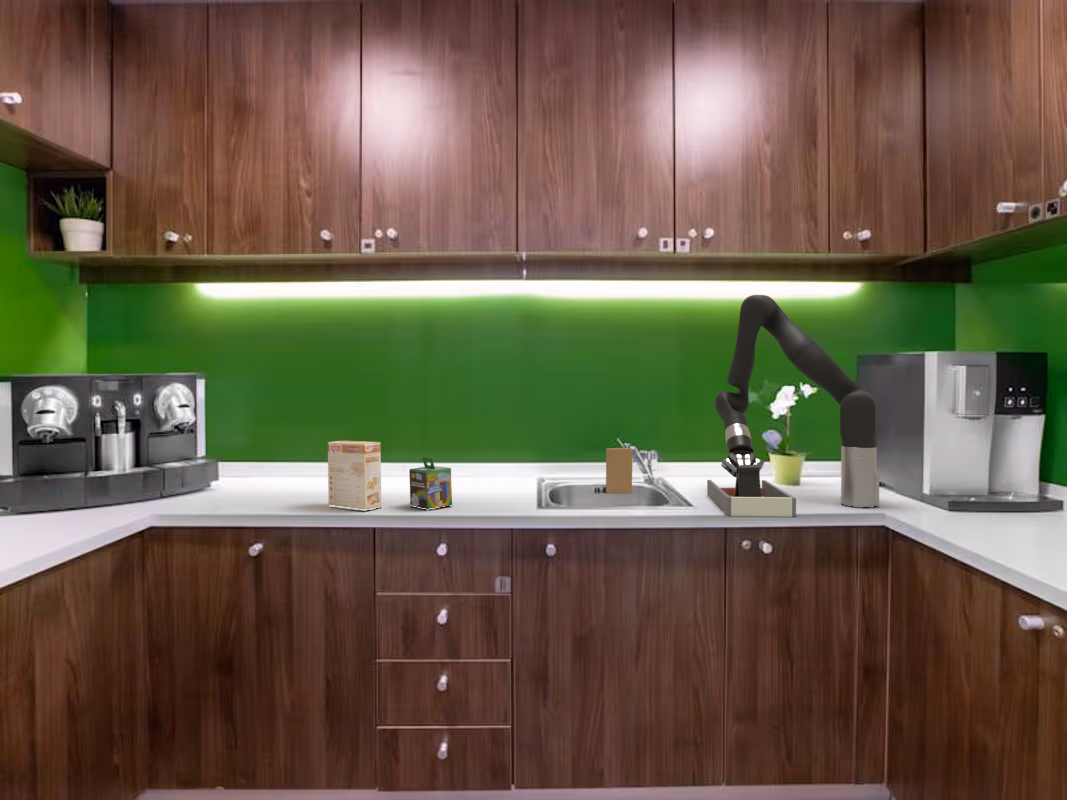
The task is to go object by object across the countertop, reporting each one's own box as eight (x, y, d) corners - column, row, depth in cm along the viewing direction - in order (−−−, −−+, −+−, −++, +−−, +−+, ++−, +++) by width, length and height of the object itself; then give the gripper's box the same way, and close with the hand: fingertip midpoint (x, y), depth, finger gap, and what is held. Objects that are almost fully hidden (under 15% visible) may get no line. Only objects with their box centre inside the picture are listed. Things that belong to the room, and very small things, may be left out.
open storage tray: (765, 495, 205) (765, 480, 205) (795, 516, 173) (796, 498, 173) (707, 495, 207) (707, 479, 207) (727, 515, 175) (727, 497, 175)
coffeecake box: (382, 508, 189) (381, 441, 188) (364, 512, 182) (363, 443, 182) (345, 503, 196) (345, 439, 196) (327, 507, 190) (326, 441, 190)
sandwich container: (630, 486, 227) (630, 443, 226) (632, 493, 212) (632, 448, 211) (605, 486, 228) (605, 443, 227) (606, 493, 212) (606, 448, 212)
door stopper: (762, 508, 184) (762, 467, 184) (740, 508, 185) (740, 466, 184) (754, 502, 193) (755, 462, 193) (734, 502, 194) (734, 462, 193)
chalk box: (452, 507, 190) (452, 456, 190) (427, 511, 184) (426, 459, 183) (434, 502, 197) (433, 454, 196) (408, 507, 190) (408, 457, 190)
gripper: (718, 433, 200) (725, 479, 188) (762, 433, 198) (772, 479, 186) (715, 448, 205) (722, 494, 193) (758, 449, 204) (767, 494, 192)
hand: (747, 487), depth 190 cm, fingers closed
